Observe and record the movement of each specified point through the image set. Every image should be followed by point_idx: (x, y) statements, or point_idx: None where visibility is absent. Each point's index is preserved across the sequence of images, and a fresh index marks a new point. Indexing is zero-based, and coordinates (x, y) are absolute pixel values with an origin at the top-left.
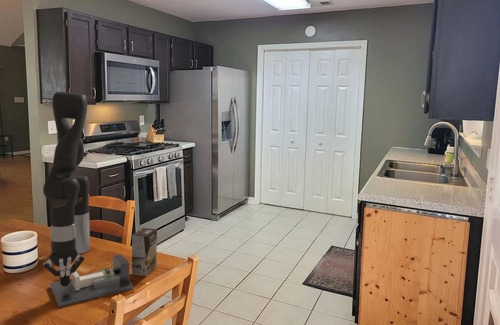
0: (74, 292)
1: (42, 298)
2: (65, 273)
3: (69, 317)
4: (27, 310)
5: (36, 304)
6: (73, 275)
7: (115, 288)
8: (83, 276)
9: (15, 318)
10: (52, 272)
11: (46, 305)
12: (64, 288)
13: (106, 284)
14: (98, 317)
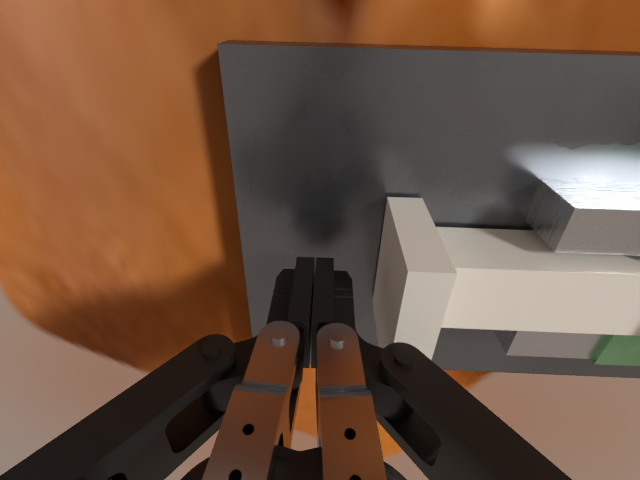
0: (361, 305)
1: (176, 210)
2: (316, 370)
3: None
4: (108, 295)
5: (147, 261)
6: (392, 333)
7: (576, 371)
8: (486, 279)
9: (67, 331)
10: (171, 436)
11: (202, 296)
12: (318, 225)
13: None
14: (383, 450)
